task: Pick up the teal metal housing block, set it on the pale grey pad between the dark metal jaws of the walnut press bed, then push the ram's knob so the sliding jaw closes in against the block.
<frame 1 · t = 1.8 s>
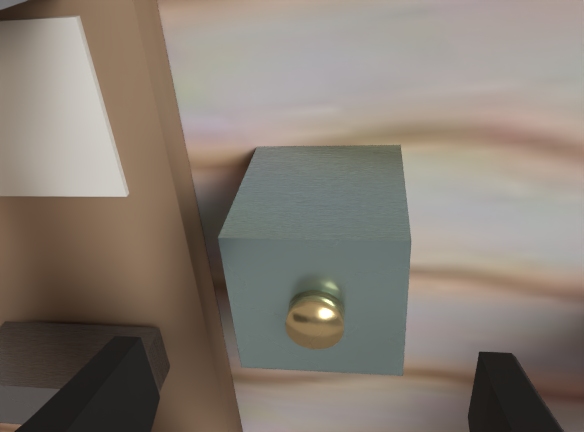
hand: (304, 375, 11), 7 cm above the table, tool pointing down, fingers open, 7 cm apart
press bed: (37, 97, 16), on the table
housing block: (329, 206, 17), on the table
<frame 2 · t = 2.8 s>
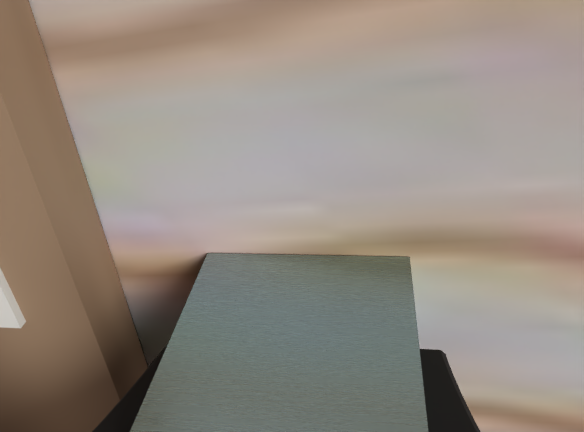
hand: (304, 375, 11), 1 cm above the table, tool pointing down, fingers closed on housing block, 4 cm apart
housing block: (311, 328, 12), on the table, touching gripper
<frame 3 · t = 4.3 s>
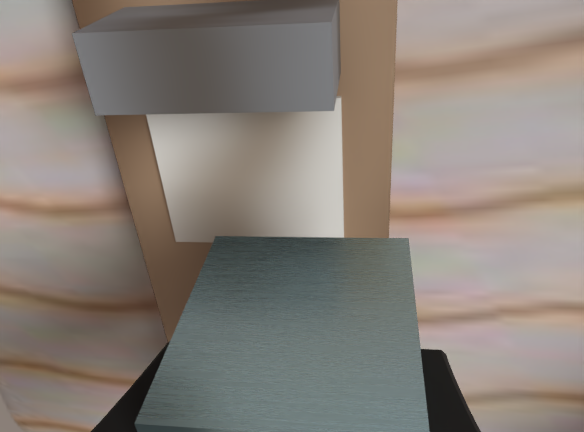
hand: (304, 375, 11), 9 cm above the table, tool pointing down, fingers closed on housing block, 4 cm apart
press bed: (259, 154, 18), on the table
housing block: (314, 309, 13), point 6 cm above the table, touching gripper
when the fingers open (4 cm above the table, at t = 5.8 s): housing block stays where it is, resting on press bed.
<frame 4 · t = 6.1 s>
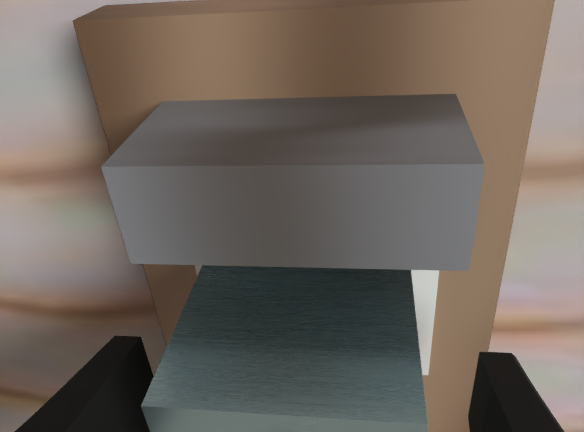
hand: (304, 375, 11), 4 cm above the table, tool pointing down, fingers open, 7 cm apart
press bed: (320, 259, 15), on the table
housing block: (314, 300, 13), point 2 cm above the table, touching press bed
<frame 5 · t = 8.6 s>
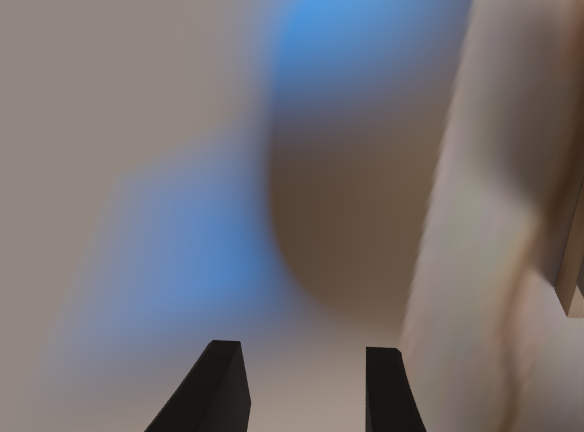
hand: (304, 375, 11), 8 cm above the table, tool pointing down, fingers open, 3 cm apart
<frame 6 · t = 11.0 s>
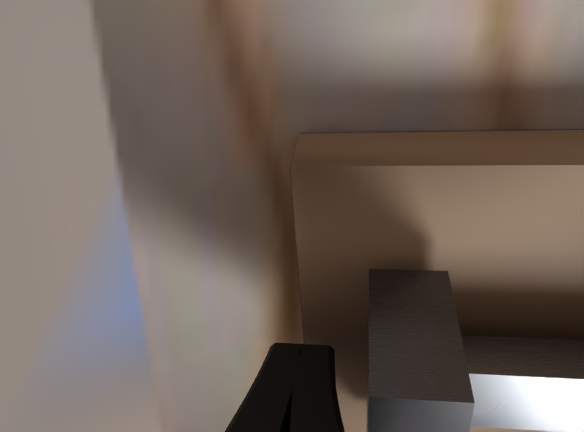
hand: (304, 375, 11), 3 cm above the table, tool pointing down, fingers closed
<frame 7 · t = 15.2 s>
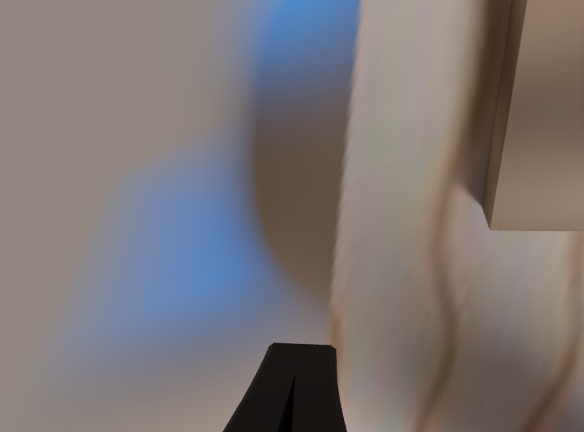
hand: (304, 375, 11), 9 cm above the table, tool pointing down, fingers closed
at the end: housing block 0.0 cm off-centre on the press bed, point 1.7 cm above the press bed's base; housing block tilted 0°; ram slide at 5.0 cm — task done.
